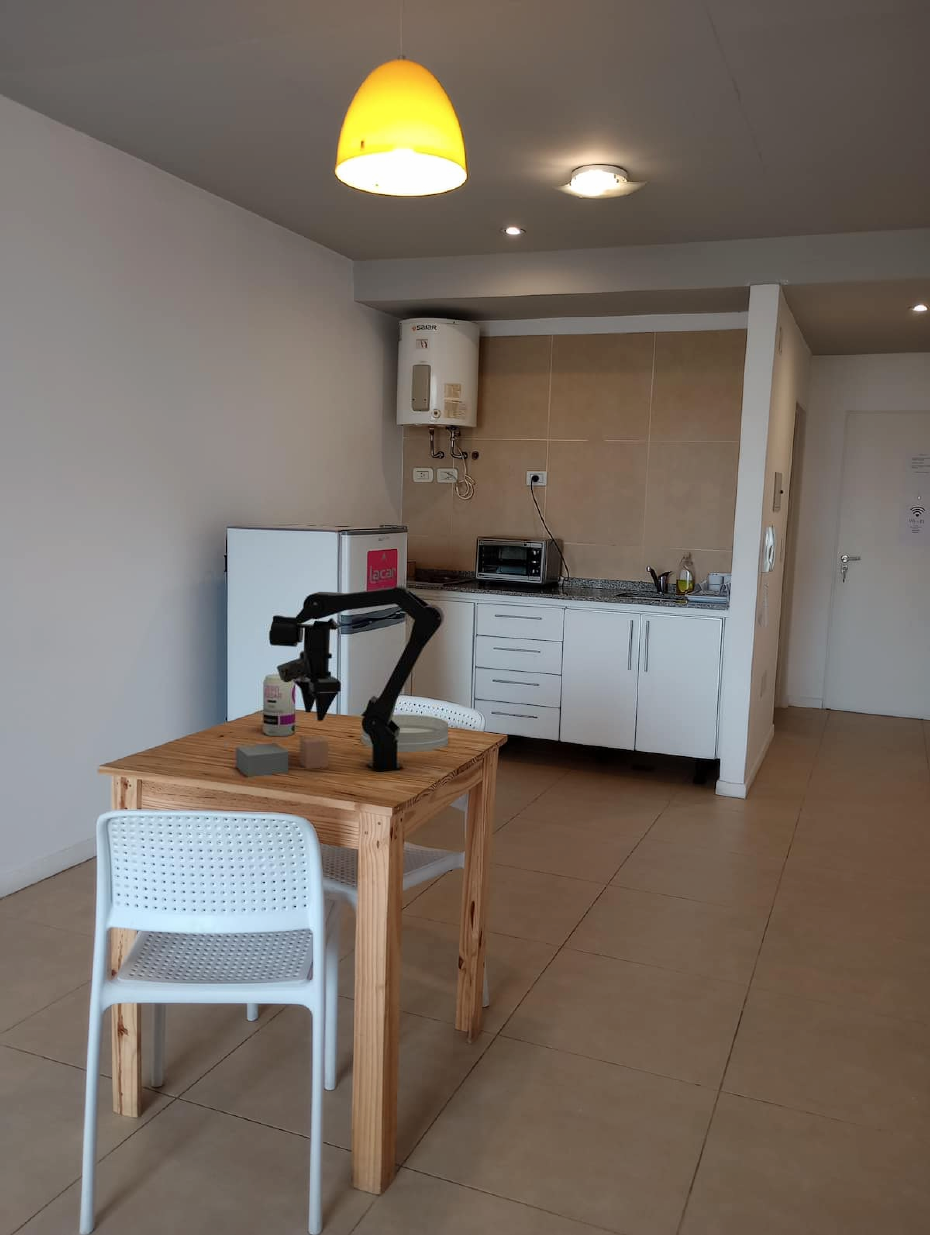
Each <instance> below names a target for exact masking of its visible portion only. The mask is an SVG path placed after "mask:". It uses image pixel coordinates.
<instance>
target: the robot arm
mask: <svg viewBox="0 0 930 1235" xmlns="http://www.w3.org/2000/svg"><path fill="white" fill-rule="evenodd" d="M390 605H391V606H392V605H397V607H399V608H400V609H401V610H402V611H403V612H404V613H405V614H406V615H408V616H409V617H410V618H411V619H413V621H414V622H413V625H412V628H411V632H410V635H409V639H408V642H407V644H406V646H405V648H404V649H403V651H402V653H401V656H400V657H399V660H398V661H397V663H396V665H395V667H394V668H393V671H392V673H391V675H390V677H389V679H388V680H387V682H386V684H385V687H384V688H383V690H382V692H381V694H380V695H379V697H377V696H375V695H372V697H371V698H370V699H369V700H368V703H367V705H366V708H365V709H364V711H363V712H362V713H361V715H360V717H362V720H361V728H362V727H363V730H364V731H365V733H367V734H368V735H369V737H370V740H371V742H372V748H371V749H372V750H371V752H372V754H371V762H366V766H367V767H369V768H370V769H372V770H373V771H375V772H384V771H386V772H387V771H395V770H403V769H404V766H403V765H401V764H400V763H398V753H399V752H398V740H397V739H396V738H397V737H398V734H399V732H400V728H399V727H398V725H397V724H396V723H395V722H394V721H393V720H392V716H393V715H394V713H395V710H396V704H397V702H398V699H399V696H400V694H401V693H402V690H403V689H404V687H405V685H406V682H407V681H408V679H409V677H410V675H411V673H412V671H413V670H414V667H415V665H416V663H417V662H418V659H419V658H420V656H421V654H422V652H423V650H424V648H425V646H426V645H427V643H429V642H430V640H431V639H432V638H433V636H434V635H435V633H436V632H437V631H438V630H439V628H440V627H441V626H442V624H443V623H444V621H445V620H444V618H445V615H444V613H443V610H442V608H441V607H439V606H438V605H435V604H429V603H428V602H427V601H425V600H424V599H422V598H421V597H419V596H418V595H416V594H414V593H413V592H412V591H410V590H409V589H408V587H406V586H404V585H397V586H394V587H387V588H386V587H385V588H379V589H378V588H377V589H372V590H364V591H355V592H347V593H345V592H333V591H317V592H314V593H312V594H309V595H307V596H306V597H305V598H304V601H303V604H302V609H301V610H300V612H299V613H298V614H296V616H284V615H279V614H276V615H274V616H272V622H271V624H270V625H271V626H270V630H269V632H268V640H269V644H270V645H271V646H273V647H274V646H277V647H278V646H279V647H291V648H292V647H293V648H297V646H298V645H299V644H301V643H302V642H303V650H301V651H300V653H299V657H298V658H296V659H293V660H290V661H287V662H285V663H282V664H279V665H278V666H276V669H277V673H278V674H279V675H280V678H281V680H283V681H284V682H290V681H292V680H293V682H294V683H295V686H297V687H298V688H299V689H300V693H301V696H302V697H301V699H302V702H303V706H304V711H305V712H306V713H307V714H308V713H311V712H312V710H313V707H314V704H315V711H316V713H315V714H316V717H317V718H316V719H317V721H318V722H322V721H323V720H324V719H325V716H326V715H327V713H328V712H329V709H330V707H331V705H332V703H333V702H334V701H335V698H336V696H337V695H339V692H341V691H342V689H341V688H342V682H341V681H340V680H339V679H338V678H336V677H334V676H332V672H331V671H330V670H329V669H330V668H329V667H330V666H329V665H330V664H329V663H330V660H331V659H333V654H332V653H331V652H330V644H331V642H330V641H331V631H333V630H334V631H335V630H338V629H339V628H340V625H339V624H338V623H337V622H336V621H335V620H334V618H333V617H331V618H329V619H328V620H327V621H326V620H320V619H323V618H326V617H327V618H328V617H330V616H334V615H336V614H339V613H342V612H345V611H352V610H358V609H365V608H368V609H369V608H375V607H384V606H390ZM311 620H314V622H313V624H310V623H307V622H309V621H311Z"/></svg>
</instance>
